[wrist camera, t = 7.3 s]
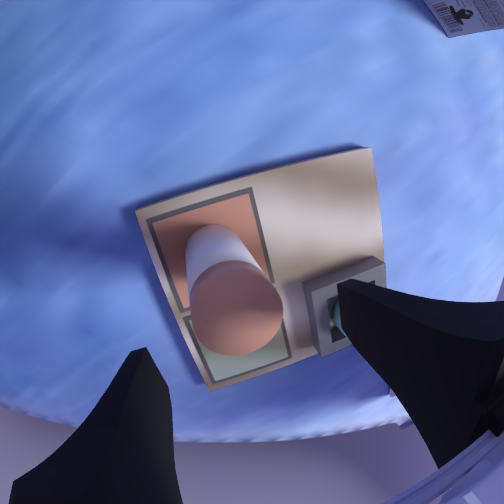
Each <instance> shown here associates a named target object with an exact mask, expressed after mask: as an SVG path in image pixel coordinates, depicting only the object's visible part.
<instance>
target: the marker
mask: <svg viewBox="0 0 504 504" xmlns="http://www.w3.org/2000/svg"><path fill="white" fill-rule="evenodd" d="M185 261H186V273H187V283H188V293H189V303H190V312H191V321H192V327H193V330H194V333H195V335H196V337H197V338H198V340H199V341H200V342H201V343H202V344H203V345H204V346H205V347H206V348H208V349H209V350H211V351H213V352H216V353H219V354H222V355H230V356H236V355H244V354H248V353H251V352H253V351H256V350H258V349H260V348H261V347H263V346H264V345H266V344H267V343H268V342H269V341H270V340H271V339H272V338H273V337H274V336H275V334H276V333H277V331H278V330H279V328H280V325H281V323H282V319H283V303H282V300H281V297H280V295H279V293H278V292H277V291H276V289H275V288H274V286H273V285H272V283H271V282H270V281H269V279H268V278H267V276H266V275H265V274H264V272H263V271H262V269H261V268H260V266H259V265H258V264H257V262H256V261H255V259H254V258H253V257H252V255H251V254H250V252H249V251H248V249H247V248H246V247H245V245H244V244H243V242H242V241H241V239H240V238H239V237H238V235H237V234H236V233H235V232H234V231H233V230H232V229H230V228H229V227H226V226H224V225H219V224H210V225H206V226H203V227H201V228H199V229H198V230H196V231H195V232H194V233H193V234H192V235H191V236H190V238H189V239H188V241H187V244H186V247H185Z"/></svg>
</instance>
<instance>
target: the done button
mask: <svg viewBox="0 0 504 504" xmlns="http://www.w3.org/2000/svg"><path fill="white" fill-rule="evenodd" d="M331 319H332V321H333V323H334V324H335V325H336V326H337V327H338V328H339V329H340V331H341V332H342V333H343V334H344V335H345V336H346V334H345V332H344V331H343V329H342V328H341V319H340V309H339V301H338V298H337V300H336V301H335V303H334V304H333V307H332V310H331ZM346 337H347V336H346ZM347 338H348V337H347Z"/></svg>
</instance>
